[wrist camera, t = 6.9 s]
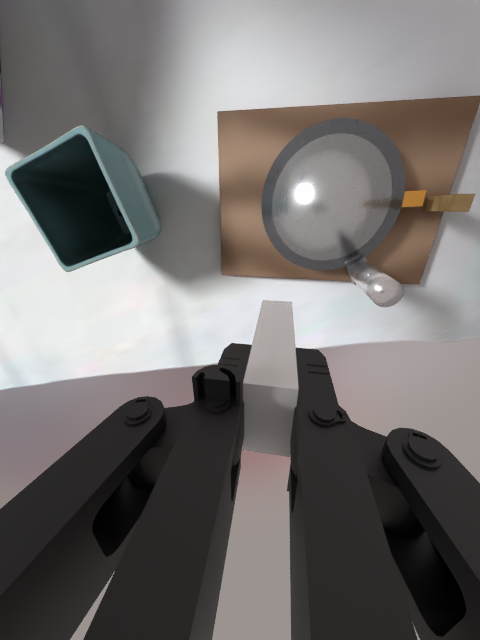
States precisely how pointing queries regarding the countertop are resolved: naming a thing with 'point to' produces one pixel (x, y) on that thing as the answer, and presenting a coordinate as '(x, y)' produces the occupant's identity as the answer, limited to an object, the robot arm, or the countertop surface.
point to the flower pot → (84, 198)
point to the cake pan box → (1, 117)
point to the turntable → (338, 201)
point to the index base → (286, 123)
